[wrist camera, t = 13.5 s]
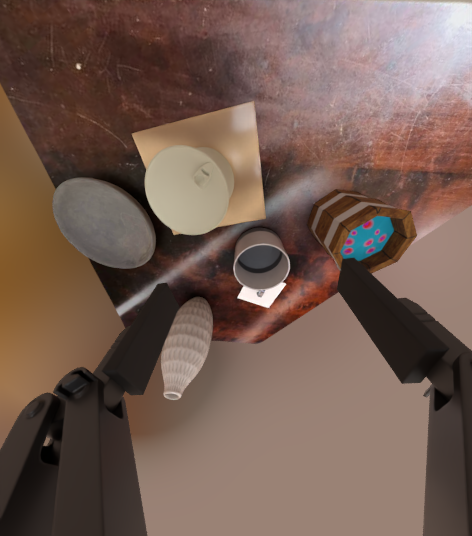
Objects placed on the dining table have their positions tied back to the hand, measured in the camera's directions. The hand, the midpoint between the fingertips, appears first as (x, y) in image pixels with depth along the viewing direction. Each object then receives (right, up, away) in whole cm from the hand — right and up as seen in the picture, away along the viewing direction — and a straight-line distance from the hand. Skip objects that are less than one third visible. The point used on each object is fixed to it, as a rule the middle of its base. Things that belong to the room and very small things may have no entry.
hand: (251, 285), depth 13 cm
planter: (+5, +7, +35) cm, 36 cm away
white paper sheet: (+7, -6, +44) cm, 45 cm away
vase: (-14, -11, +48) cm, 51 cm away
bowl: (-30, +14, +32) cm, 46 cm away
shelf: (-6, +22, +25) cm, 34 cm away
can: (-6, +16, +15) cm, 23 cm away
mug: (+24, +11, +31) cm, 41 cm away
